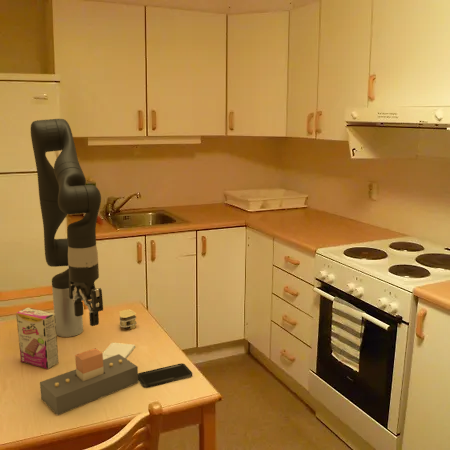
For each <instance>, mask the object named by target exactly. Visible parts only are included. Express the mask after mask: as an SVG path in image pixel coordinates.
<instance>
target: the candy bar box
mask: <svg viewBox="0 0 450 450" xmlns="http://www.w3.org/2000/svg"><path fill="white" fill-rule="evenodd" d="M15 315H16V323H17V334H18V335H17V336H18V345H19V357H20V362H21V363H24V364H28V365H32V366H34V367H38V368H42V369H46V370H49V369H52V367H54V366H56V365H57V364H59V355H58V354H59V350H58V338H57V336H58V335H56V322H55V314H54V312H49V311H45V310H41V309H40V310H39V309H36V308H31V307H26V308H23V309H21V310H18V311H17V312H16V313H15Z"/></svg>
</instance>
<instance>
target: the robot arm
mask: <svg viewBox="0 0 450 450" xmlns="http://www.w3.org/2000/svg"><path fill="white" fill-rule="evenodd" d="M30 140H31V145H32V150H33V156H34V160H35V167H36V173H37V174H36V175H37V186H38V187H37V188H38V196H39V207H40V210H41V211H40V212H41V218H42V226H43V238H44V240H43V242H44V246H43V247H44V258H45V262H46V264H47V266H48V267H54V268H56V267H68V268H67V269H65V270H63V271H62V272H59V273H58V274H55V275H54V276H53V277H52V278H51V287H52V289H51V291H52V301H53V302H52V303H53V313H54V314H55V322H56V336H58V337H63V338H68V337H69V338H70V337H75V336H77V335H81V333H83V331H84V325H83V323H84V322H83V318H84V317H83V315H84V305H85V306H87V308H88V311H89V313H88V314H89V316H88V317H89V325H90V326H91V327H94V326H97V325H98V326H99V324H100V318H99V312H101V311H103V312H104V302H103V301H104V300H103V292H102V288H101V287H100V288H96V286H95V282H96V281H97V280H98V279H99V278H100V273H99V271H100V270H99V268H100V267H99V254H98V247H97V235H96V233H97V231H96V230H97V229H96V227H97V222H98V215H99V212H100V208H101V203H102V194H101V192H100V189H99V188H98V187H97V186H96V185H94V184H87V178H86V175H85V174H84V172H83V169H82V166H81V165H80V161H79V159H78V158H79V157H78V154H77V149H76V144H75V141H74V140H75V139H74V135H73V132H72V129H71V126H70V123H69V122H68V120H66V119H64V118H53V119H39V120H34V121H32V122H31V124H30ZM59 151H60V153H59V155H58V156H57V157H56V159H55V162H54V165H52V164H51V163H50V161H49V160H48V158H47V155H46V154H47V153H50V152H59ZM76 214H84V216H83V217H82V219H79V220H77V221H74V222H71V223H70V224H68V225H67V228H66V233H67V237H66V238H55V237H56V233H57V231H58V229H59V227H60V226H61V224H62V223H63V221H65V219H66V217H67V216H68V215H76Z"/></svg>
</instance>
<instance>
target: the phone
mask: <svg viewBox="0 0 450 450" xmlns="http://www.w3.org/2000/svg"><path fill="white" fill-rule="evenodd" d="M192 377H193V372H192V370H190V368H189V367H188V366H187V365H186V364H185V363H181V362H180V363H177V364H172V365H168V366H165V367H164V366H163V367H160V368H155V369H151V370H146V371H141V372H138V383H140V385H141V386H142V388H144V389H150V388H153V387H158V386H160V385H167V384H169V383H174V382H178V381H181V380H182V381H183V380H186V379H190V378H192Z"/></svg>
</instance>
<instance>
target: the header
mask: <svg viewBox="0 0 450 450" xmlns="http://www.w3.org/2000/svg"><path fill="white" fill-rule="evenodd" d="M103 371H104V374H102V375H99V376H97V377H94V378H91V379H89V380H86V381H81V380H80V379H79V378H78V377H77V374H76V369H73V370H70V371H67V372H65V373H61V374H59V375H56V376H53V377H51V378H48V379H45V380H42V381H40V382H39V389H40V399H41V401H42V402H44V403H45V404H46V406H48V408H49V409H51V410H52V412H54V414H55V415H57V416H60V415H62V414H64V413H67V412H70V411H71V410H73V409H77V408H79V407H81V406H84V405H86V404H89V403H91V402H94V401H97V400H99V399H102V398H104V397H106V396H109V395H111V394H113V393H116V392H118V391H121V390H123V389H126V388H129V387H130V386H133V385H135V384H138V383H139V381H138V373H139V370H138V366H137V365H136V364H135V363H133V362H131V361H130V360H129V359H128V358H124V357H123V356H121V355H119V354H118V355H115V356H112V357H110V358H107V359H104V360H103Z"/></svg>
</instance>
